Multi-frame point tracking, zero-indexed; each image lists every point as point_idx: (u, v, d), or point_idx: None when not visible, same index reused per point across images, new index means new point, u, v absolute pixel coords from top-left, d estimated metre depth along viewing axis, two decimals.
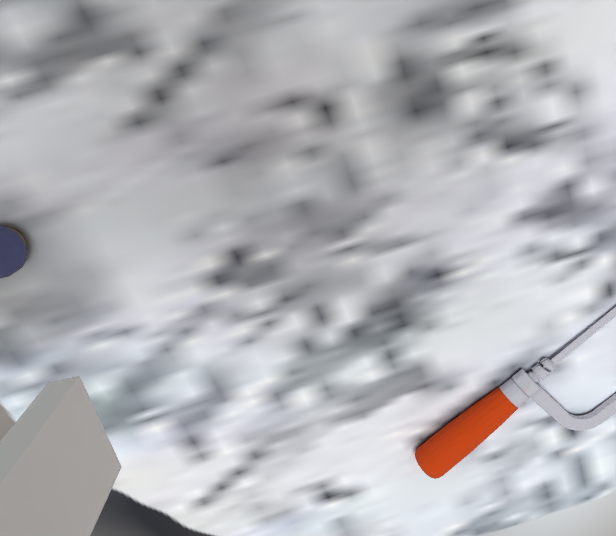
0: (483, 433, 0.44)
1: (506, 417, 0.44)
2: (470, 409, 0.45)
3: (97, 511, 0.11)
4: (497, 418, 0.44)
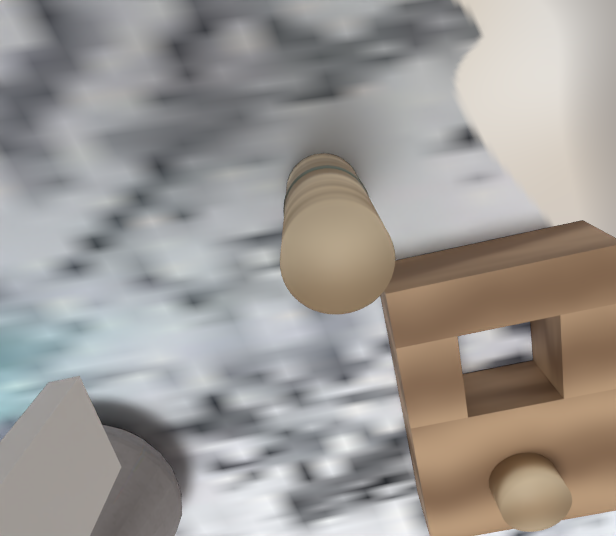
0: None
1: None
2: None
3: (97, 510, 0.11)
4: None
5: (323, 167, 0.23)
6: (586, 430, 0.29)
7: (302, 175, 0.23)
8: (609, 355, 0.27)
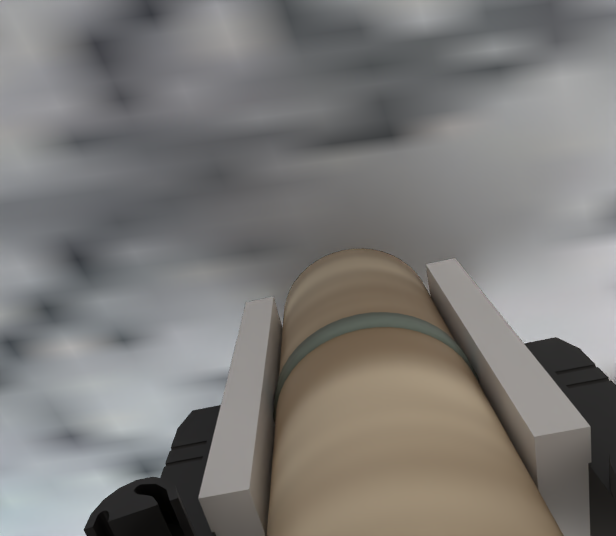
0: None
1: None
2: None
3: None
4: None
5: (373, 324, 0.09)
6: None
7: (320, 342, 0.09)
8: None
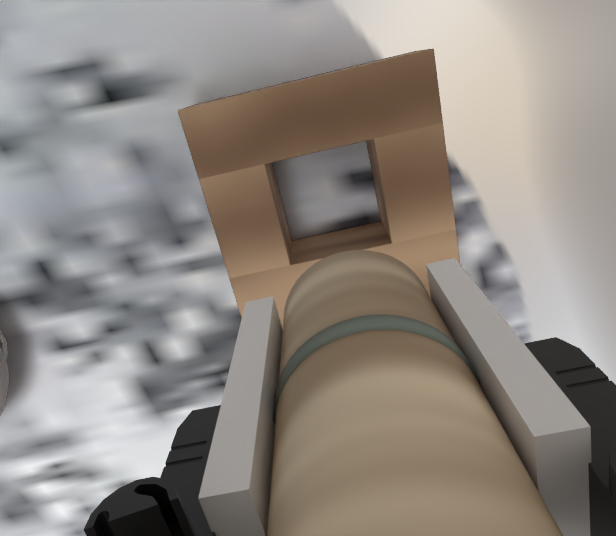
0: None
1: None
2: None
3: None
4: None
5: (374, 326, 0.09)
6: None
7: (320, 345, 0.09)
8: (434, 189, 0.25)
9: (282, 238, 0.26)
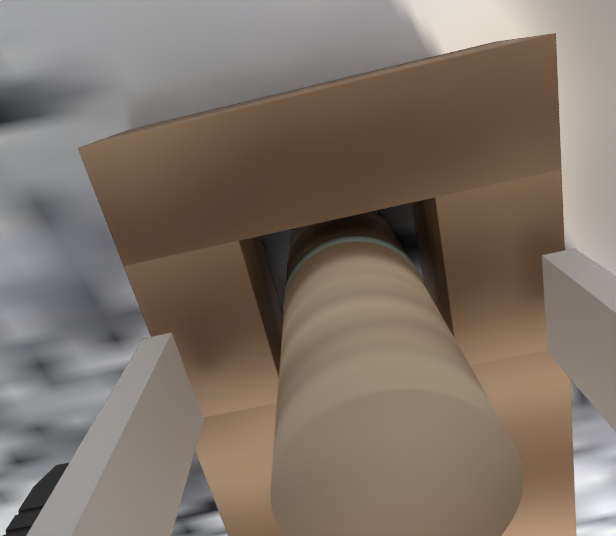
0: None
1: None
2: None
3: (190, 455, 0.12)
4: None
5: (350, 239, 0.14)
6: None
7: (314, 252, 0.14)
8: (537, 282, 0.14)
9: (272, 360, 0.15)
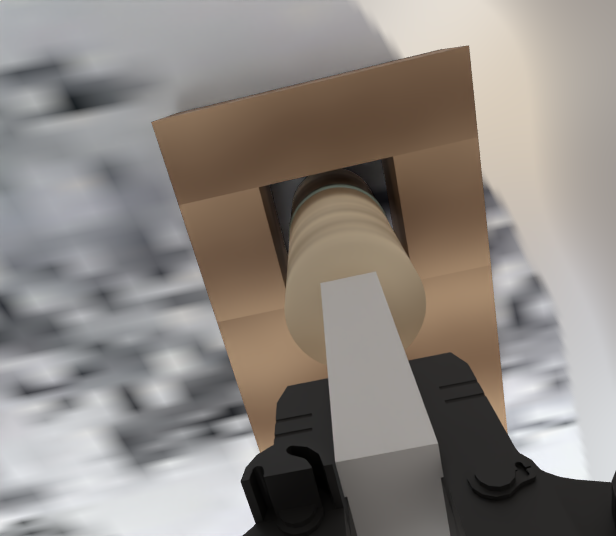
0: None
1: None
2: None
3: None
4: None
5: (335, 186, 0.20)
6: (448, 327, 0.22)
7: (310, 195, 0.20)
8: (466, 217, 0.21)
9: (280, 275, 0.21)
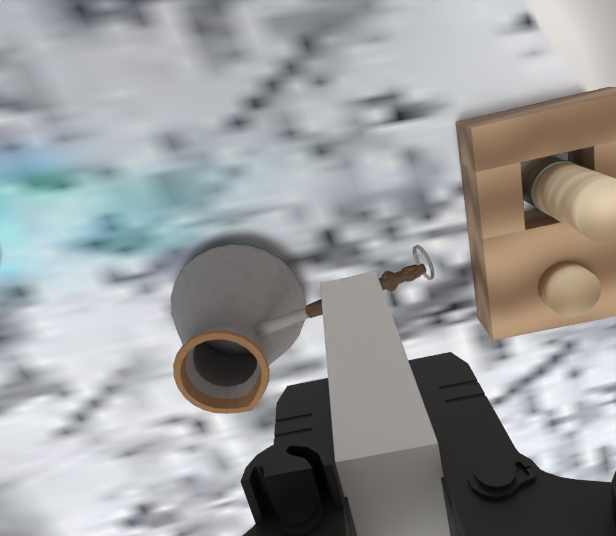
0: None
1: None
2: None
3: None
4: None
5: (562, 161, 0.37)
6: (611, 242, 0.40)
7: (548, 166, 0.37)
8: None
9: (522, 211, 0.39)
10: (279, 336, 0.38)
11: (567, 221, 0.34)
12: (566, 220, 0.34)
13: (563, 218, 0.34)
